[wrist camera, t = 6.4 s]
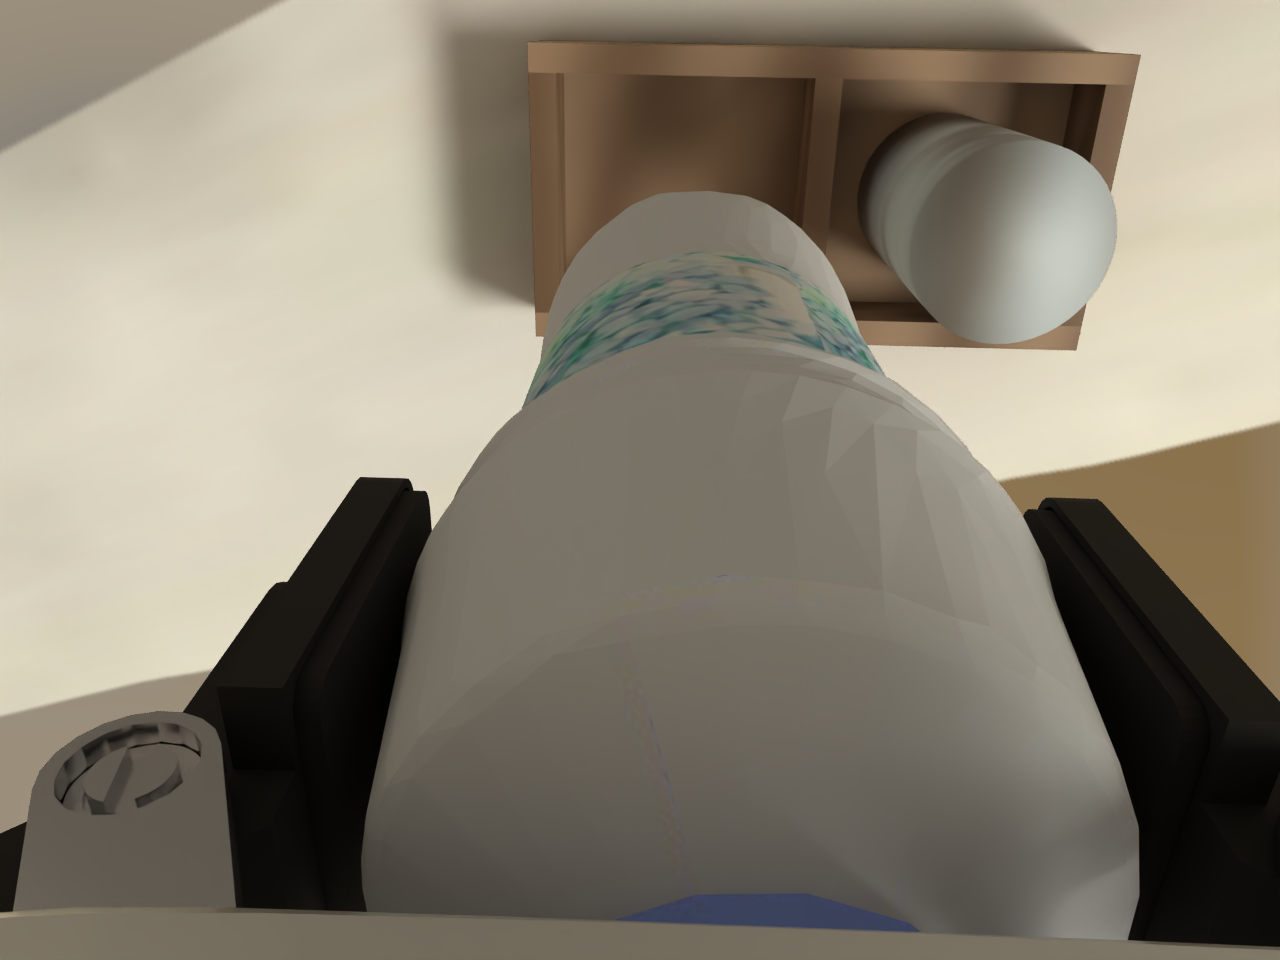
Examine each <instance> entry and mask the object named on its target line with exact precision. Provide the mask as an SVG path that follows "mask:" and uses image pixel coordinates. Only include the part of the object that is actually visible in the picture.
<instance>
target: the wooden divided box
mask: <svg viewBox="0 0 1280 960" xmlns="http://www.w3.org/2000/svg"><path fill="white" fill-rule="evenodd" d="M527 47H528V82H529V116H530V150H531V184H532V218H533V252H534V286H535V320H536V336H543V337H544V334H545V330H546V325H547V320H548V316H549V312H550V309H551V306H552V303H553V300H554V297H555V294H556V292H557V289H558V287H559V285H560V282H561V280H562V278H563V276H564V274H565V273H566V271H567V269H568V268H569V266H570V264H571V263H572V261H573V259H574V258H575V256H576V254H577V253H578V252H579V251H580V250H581V249H582V248H583V246H584V245H585V244H586V243H587V242H588V241H589V240H590V239H591V238H592V237H593V235H594V234H595V233H596V232H597V231H599V230H600V229H601V228H602V227H604V226H605V225H606V224H607V223H609V222H610V221H611V220H613V219H614V218H615V217H616V216H618V215H619V214H620V213H622V212H623V211H624V210H625V209H627V208H628V207H630V206H632V205H633V204H635V203H637V202H640V201H642V200H644V199H647V198H649V197H652V196H654V195H657V194H663V193H671V192H696V191H713V192H720V193H728V194H736V195H744V196H748V197H751V198H753V199H756V200H758V201H761V202H763V203H766V204H768V205H769V206H771V207H772V208H774V209H775V210H777V211H778V212H780V213H781V214H783V215H784V216H786V217H787V218H788V219H789V220H791V221H792V222H793V223H795V224H796V225H797V226H798V227H800V228H801V229H802V230H803V231H804V232H805V234H806V235H807V236H808V237H809V238H810V239H811V240H812V241H813V242H814V243H815V245H816V246H817V247H818V248H819V249H820V250H821V251H822V252H823V254H824V255H825V257H826V258H827V260H828V261H829V263H830V264H831V266H832V267H833V269H834V271H835V273H836V275H837V277H838V279H839V281H840V283H841V284H842V286H843V288H844V290H845V293H846V295H847V298H848V300H849V303H850V306H851V309H852V312H853V314H854V317H855V320H856V323H857V326H858V329H859V332H860V334H861V336H862V338H863V339H864V341H865V342H866V344H867V345H889V346H927V347H965V348H1004V349H1042V350H1076V349H1077V344H1078V339H1079V335H1080V330H1081V326H1082V321H1083V317H1084V312H1085V308H1086V303H1087V302H1088V301H1089V299H1090V298H1091V297H1092V296H1093V294H1094V293H1095V291H1096V290H1097V289H1098V287H1099V286H1100V284H1101V282H1102V280H1103V279H1104V277H1105V275H1106V273H1107V270H1108V268H1109V266H1110V263H1111V260H1112V257H1113V254H1114V250H1115V244H1116V238H1117V217H1116V209H1115V205H1114V201H1113V197H1112V195H1111V189H1112V184H1113V180H1114V175H1115V171H1116V166H1117V162H1118V157H1119V153H1120V148H1121V143H1122V139H1123V134H1124V130H1125V125H1126V121H1127V116H1128V112H1129V107H1130V102H1131V98H1132V93H1133V89H1134V84H1135V80H1136V75H1137V70H1138V66H1139V61H1140V57H1141V55H1136V54H1123V53H1109V52H1092V51H1042V50H992V49H942V48H892V47H842V46H792V45H742V44H693V43H643V42H593V41H543V40H541V41H534V42H527Z"/></svg>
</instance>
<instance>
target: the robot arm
mask: <svg viewBox="0 0 1280 960" xmlns="http://www.w3.org/2000/svg"><path fill="white" fill-rule="evenodd" d="M1023 517H1024V519H1025V522H1026V524H1027V526H1028V528H1029V530H1030V532H1031V534H1032V536H1033V538H1034V540H1035V542H1036V544H1037V546H1038V548H1039V550H1040V552H1041V554H1042V556H1043V558H1044V560H1045V563H1046V567H1047V570H1048V574H1049V578H1050V582H1051V586H1052V590H1053V594H1054V598H1055V601H1056V604H1057V607H1058V609H1059V612H1060V615H1061V618H1062V620H1063V623H1064V625H1065V628H1066V630H1067V633H1068V635H1069V638H1070V640H1071V643H1072V645H1073V648H1074V650H1075V653H1076V655H1077V658H1078V660H1079V663H1080V665H1081V668H1082V670H1083V673H1084V675H1085V678H1086V680H1087V683H1088V685H1089V688H1090V690H1091V693H1092V695H1093V698H1094V700H1095V703H1096V705H1097V708H1098V710H1099V713H1100V715H1101V718H1102V720H1103V723H1104V725H1105V728H1106V730H1107V733H1108V735H1109V738H1110V740H1111V743H1112V745H1113V748H1114V750H1115V753H1116V755H1117V758H1118V760H1119V763H1120V765H1121V769H1122V772H1123V776H1124V779H1125V782H1126V786H1127V789H1128V792H1129V796H1130V799H1131V803H1132V806H1133V809H1134V813H1135V816H1136V819H1137V823H1138V826H1139V899H1138V903H1137V907H1136V910H1135V914H1134V918H1133V921H1132V925H1131V929H1130V932H1129V936H1128V940H1109V939H1083V938H1057V937H1032V936H1006V935H981V934H955V933H929V932H904V931H878V930H853V929H827V928H801V927H775V926H748V925H721V924H694V923H667V922H641V921H614V920H587V919H560V918H533V917H504V916H474V915H443V914H413V913H382V912H367V908H366V903H365V899H364V894H363V889H362V867H361V855H362V846H363V838H364V829H365V820H366V813H367V808H368V804H369V799H370V794H371V790H372V785H373V780H374V776H375V771H376V766H377V762H378V757H379V752H380V747H381V743H382V738H383V733H384V729H385V724H386V719H387V715H388V710H389V705H390V701H391V696H392V691H393V686H394V682H395V677H396V672H397V668H398V663H399V658H400V652H401V639H402V627H403V620H404V613H405V606H406V599H407V594H408V591H409V587H410V584H411V581H412V578H413V574H414V571H415V568H416V565H417V562H418V560H419V558H420V555H421V553H422V551H423V549H424V547H425V544H426V542H427V540H428V538H429V535H430V533H431V532H432V528H431V516H430V505H429V498H428V495H427V493H426V491H413V487H412V484H411V482H410V480H409V479H405V478H372V477H360V478H359V479H358V480H357V481H356V482H355V484H354V485H353V487H352V488H351V490H350V491H349V493H348V494H347V495H346V497H345V498H344V500H343V501H342V503H341V504H340V506H339V507H338V509H337V510H336V512H335V513H334V514H333V516H332V517H331V519H330V520H329V522H328V523H327V525H326V526H325V528H324V529H323V531H322V532H321V533H320V535H319V536H318V538H317V539H316V541H315V542H314V544H313V545H312V547H311V548H310V550H309V551H308V552H307V554H306V555H305V557H304V558H303V560H302V561H301V563H300V564H299V566H298V567H297V569H296V570H295V571H294V573H293V574H292V576H291V577H290V579H289V580H288V582H280V583H276V584H275V585H274V586H273V587H272V588H271V589H270V590H269V591H268V592H267V594H266V595H265V597H264V598H263V599H262V601H261V602H260V604H259V605H258V606H257V608H256V609H255V611H254V612H253V614H252V615H251V616H250V618H249V619H248V621H247V622H246V623H245V625H244V626H243V628H242V629H241V631H240V632H239V633H238V635H237V636H236V638H235V639H234V640H233V642H232V643H231V645H230V646H229V648H228V649H227V650H226V652H225V653H224V655H223V656H222V657H221V659H220V660H219V662H218V663H217V665H216V666H215V667H214V669H213V670H212V672H211V673H210V674H209V676H208V677H207V679H206V680H205V682H204V683H203V684H202V686H201V687H200V689H199V690H198V692H197V693H196V694H195V696H194V697H193V699H192V700H191V701H190V703H189V704H188V706H187V707H186V708H185V710H184V711H183V712H165V711H156V712H150V713H143V714H135V715H130V716H127V717H124V718H121V719H117V720H114V721H111V722H108V723H104V724H102V725H100V726H98V727H96V728H94V729H92V730H90V731H88V732H86V733H84V734H82V735H80V736H78V737H76V738H75V739H74V740H72V741H71V742H70V743H68V744H67V745H65V746H64V747H63V748H61V749H60V750H59V751H57V752H56V753H55V754H54V755H53V756H52V758H51V759H50V760H49V761H48V762H47V763H46V764H45V765H44V767H43V768H42V769H41V770H40V771H39V774H38V776H37V779H36V781H35V784H34V786H33V789H32V793H31V800H30V806H29V812H28V819H27V822H25V823H23V824H21V825H18V826H16V827H14V828H12V829H9V830H7V831H5V832H3V833H1V834H0V960H1280V701H1279V700H1278V699H1277V698H1276V697H1275V696H1274V695H1273V694H1272V692H1271V691H1270V690H1269V689H1268V688H1267V687H1266V686H1265V685H1264V684H1263V682H1262V681H1261V680H1260V679H1259V678H1258V677H1257V676H1256V675H1255V673H1254V672H1253V671H1252V670H1251V669H1250V668H1249V667H1248V666H1247V664H1246V663H1245V662H1244V661H1243V660H1242V659H1241V658H1240V657H1239V655H1238V654H1237V653H1236V652H1235V651H1234V650H1233V649H1232V648H1231V646H1229V644H1228V643H1227V642H1226V641H1225V640H1224V639H1223V637H1222V636H1221V635H1220V634H1219V633H1218V632H1217V631H1216V630H1215V629H1214V627H1213V626H1212V625H1211V624H1210V623H1209V622H1208V621H1207V620H1206V618H1205V617H1204V616H1203V615H1202V614H1201V613H1200V612H1199V611H1198V609H1197V608H1196V607H1195V606H1194V605H1193V604H1192V603H1191V602H1190V601H1189V600H1188V598H1187V597H1186V596H1185V595H1184V594H1183V593H1182V591H1181V590H1180V589H1179V588H1178V587H1177V586H1176V585H1175V584H1174V582H1173V581H1172V580H1171V579H1170V578H1169V577H1168V576H1167V575H1166V574H1165V572H1164V571H1162V569H1161V568H1160V567H1159V566H1158V565H1157V563H1156V562H1155V561H1154V560H1153V559H1152V558H1151V557H1150V556H1149V554H1148V553H1147V552H1146V551H1145V550H1144V549H1143V548H1142V547H1141V546H1140V544H1139V543H1138V542H1137V541H1136V540H1135V539H1134V538H1133V536H1132V535H1131V534H1130V533H1129V532H1128V531H1127V530H1126V529H1125V528H1124V526H1123V525H1122V524H1121V523H1120V522H1119V521H1118V520H1117V519H1116V517H1115V516H1114V515H1113V514H1112V513H1111V512H1110V511H1109V510H1108V508H1107V507H1106V506H1105V505H1104V504H1103V503H1102V502H1101V501H1099V500H1098V499H1076V498H1045V499H1044V500H1043V501H1042V502H1041V504H1040V506H1039V508H1038V510H1035V509H1028V510H1027V511H1026V512H1025V514H1024V516H1023Z"/></svg>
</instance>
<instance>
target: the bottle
mask: <svg viewBox="0 0 1280 960" xmlns="http://www.w3.org/2000/svg"><path fill="white" fill-rule="evenodd" d="M361 867H362V889H363V894H364V899H365V903H366V908H367V912H382V913H413V914H443V915H474V916H504V917H533V918H560V919H587V920H614V921H641V922H667V923H694V924H721V925H748V926H775V927H801V928H827V929H853V930H878V931H904V932H929V933H955V934H981V935H1006V936H1032V937H1057V938H1083V939H1109V940H1128V936H1129V932H1130V929H1131V925H1132V921H1133V918H1134V914H1135V910H1136V907H1137V903H1138V899H1139V826H1138V823H1137V819H1136V816H1135V813H1134V809H1133V806H1132V803H1131V799H1130V796H1129V792H1128V789H1127V786H1126V782H1125V779H1124V776H1123V772H1122V769H1121V765H1120V763H1119V760H1118V758H1117V755H1116V753H1115V750H1114V748H1113V745H1112V743H1111V740H1110V738H1109V735H1108V733H1107V730H1106V728H1105V725H1104V723H1103V720H1102V718H1101V715H1100V713H1099V710H1098V708H1097V705H1096V703H1095V700H1094V698H1093V695H1092V693H1091V690H1090V688H1089V685H1088V683H1087V680H1086V678H1085V675H1084V673H1083V670H1082V668H1081V665H1080V663H1079V660H1078V658H1077V655H1076V653H1075V650H1074V648H1073V645H1072V643H1071V640H1070V638H1069V635H1068V633H1067V630H1066V628H1065V625H1064V623H1063V620H1062V618H1061V615H1060V612H1059V609H1058V607H1057V604H1056V601H1055V598H1054V594H1053V590H1052V586H1051V582H1050V578H1049V574H1048V570H1047V567H1046V563H1045V560H1044V558H1043V556H1042V554H1041V552H1040V550H1039V548H1038V546H1037V544H1036V542H1035V540H1034V538H1033V536H1032V534H1031V532H1030V530H1029V528H1028V526H1027V524H1026V522H1025V519H1024V517H1023V515H1022V514H1021V513H1020V511H1019V510H1018V508H1017V507H1016V506H1015V504H1014V503H1013V501H1012V500H1011V498H1010V497H1009V496H1008V494H1007V493H1006V491H1005V490H1004V489H1003V488H1002V487H1001V485H1000V484H999V483H998V482H997V480H996V479H995V478H994V477H993V476H992V474H991V473H990V472H989V471H988V470H987V469H986V468H985V467H984V466H983V465H982V464H980V463H979V462H978V461H977V460H976V459H975V458H974V457H973V456H972V454H971V453H970V451H969V450H968V448H967V446H966V445H965V444H964V443H963V442H962V441H961V440H960V439H959V438H958V436H957V435H956V434H955V433H954V432H953V431H952V430H951V429H950V428H949V427H948V426H947V425H946V423H945V422H944V421H943V420H942V419H941V418H940V417H939V416H938V415H937V414H936V413H935V412H934V411H932V410H931V409H930V408H929V407H927V406H926V405H925V404H923V403H922V402H921V401H920V400H918V399H917V398H916V397H914V396H913V395H912V394H911V393H909V392H908V391H907V390H905V389H904V388H903V387H901V386H900V385H899V384H898V383H896V382H895V381H893V380H891V379H889V378H888V377H886V376H885V374H884V372H883V371H882V369H881V367H880V366H879V364H878V362H877V361H876V359H875V357H874V356H873V354H872V352H871V351H870V349H869V347H868V346H867V344H866V342H865V341H864V339H863V338H862V336H861V334H860V332H859V329H858V326H857V323H856V320H855V317H854V314H853V312H852V309H851V306H850V303H849V300H848V298H847V295H846V293H845V290H844V288H843V286H842V284H841V283H840V281H839V279H838V277H837V275H836V273H835V271H834V269H833V267H832V266H831V264H830V263H829V261H828V260H827V258H826V257H825V255H824V254H823V252H822V251H821V250H820V249H819V248H818V247H817V246H816V245H815V243H814V242H813V241H812V240H811V239H810V238H809V237H808V236H807V235H806V234H805V232H804V231H803V230H802V229H801V228H800V227H798V226H797V225H796V224H795V223H793V222H792V221H791V220H789V219H788V218H787V217H786V216H784V215H783V214H781V213H780V212H778V211H777V210H775V209H774V208H772V207H771V206H769V205H768V204H766V203H763V202H761V201H758V200H756V199H753V198H751V197H748V196H744V195H736V194H728V193H720V192H713V191H696V192H671V193H663V194H657V195H654V196H652V197H649V198H647V199H644V200H642V201H640V202H637V203H635V204H633V205H632V206H630V207H628V208H627V209H625V210H624V211H623V212H622V213H620V214H619V215H618V216H616V217H615V218H614V219H613V220H611V221H610V222H609V223H607V224H606V225H605V226H604V227H602V228H601V229H600V230H599V231H597V232H596V233H595V234H594V235H593V237H592V238H591V239H590V240H589V241H588V242H587V243H586V244H585V245H584V246H583V248H582V249H581V250H580V251H579V252H578V253H577V254H576V256H575V258H574V259H573V261H572V263H571V264H570V266H569V268H568V269H567V271H566V273H565V274H564V276H563V278H562V280H561V282H560V285H559V287H558V289H557V292H556V294H555V297H554V300H553V303H552V306H551V309H550V312H549V316H548V320H547V325H546V330H545V334H544V339H543V346H542V353H541V360H540V364H539V366H538V368H537V371H536V373H535V376H534V378H533V381H532V384H531V386H530V389H529V391H528V394H527V397H526V399H525V402H524V404H523V407H522V410H521V411H519V412H518V413H517V414H516V415H515V416H513V417H512V418H511V419H510V420H509V421H508V422H507V423H506V424H505V425H504V426H503V427H502V428H501V429H500V430H499V431H498V432H497V433H496V434H495V435H494V437H493V438H492V439H491V440H490V442H489V443H488V444H487V446H486V447H485V448H484V449H483V451H482V452H481V453H480V455H479V456H478V458H477V459H476V461H475V463H474V464H473V466H472V467H471V469H470V470H469V472H468V473H467V475H466V477H465V478H464V480H463V481H462V483H461V484H460V486H459V488H458V490H457V492H456V495H455V497H454V499H453V501H452V502H451V504H450V505H449V507H448V508H447V509H446V511H445V512H444V514H443V515H442V517H441V518H440V520H439V521H438V523H437V524H436V526H435V527H434V529H433V530H432V532H431V533H430V535H429V538H428V540H427V542H426V544H425V547H424V549H423V551H422V553H421V555H420V558H419V560H418V562H417V565H416V568H415V571H414V574H413V578H412V581H411V584H410V587H409V591H408V594H407V599H406V606H405V613H404V620H403V627H402V639H401V652H400V658H399V663H398V668H397V672H396V677H395V682H394V686H393V691H392V696H391V701H390V705H389V710H388V715H387V719H386V724H385V729H384V733H383V738H382V743H381V747H380V752H379V757H378V762H377V766H376V771H375V776H374V780H373V785H372V790H371V794H370V799H369V804H368V808H367V813H366V820H365V829H364V838H363V846H362V855H361Z"/></svg>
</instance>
